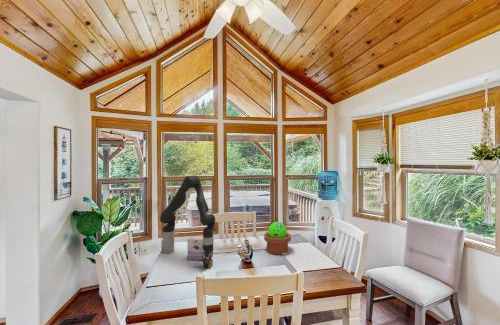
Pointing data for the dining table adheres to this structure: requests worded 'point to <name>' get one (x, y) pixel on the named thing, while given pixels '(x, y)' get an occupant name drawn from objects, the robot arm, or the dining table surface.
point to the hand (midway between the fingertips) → (207, 266)
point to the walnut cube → (209, 264)
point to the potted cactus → (277, 238)
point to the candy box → (195, 248)
